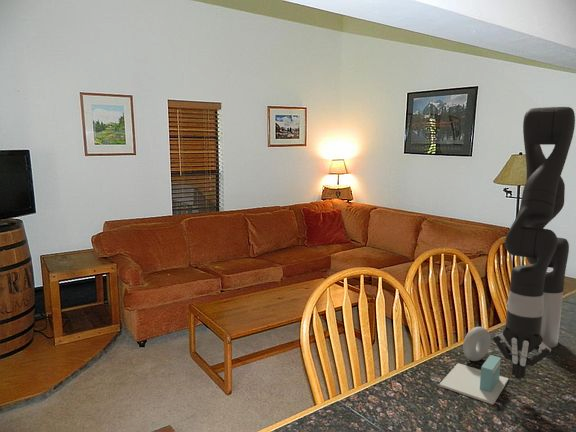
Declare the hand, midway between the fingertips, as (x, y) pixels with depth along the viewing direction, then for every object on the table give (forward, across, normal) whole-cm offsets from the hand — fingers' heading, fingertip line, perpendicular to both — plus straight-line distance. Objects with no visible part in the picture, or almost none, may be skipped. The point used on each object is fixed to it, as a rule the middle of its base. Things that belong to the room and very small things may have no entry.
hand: (518, 377), depth 110 cm
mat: (+5, +10, +1) cm, 11 cm away
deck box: (+4, +6, 0) cm, 8 cm away
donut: (+5, +13, -12) cm, 19 cm away
